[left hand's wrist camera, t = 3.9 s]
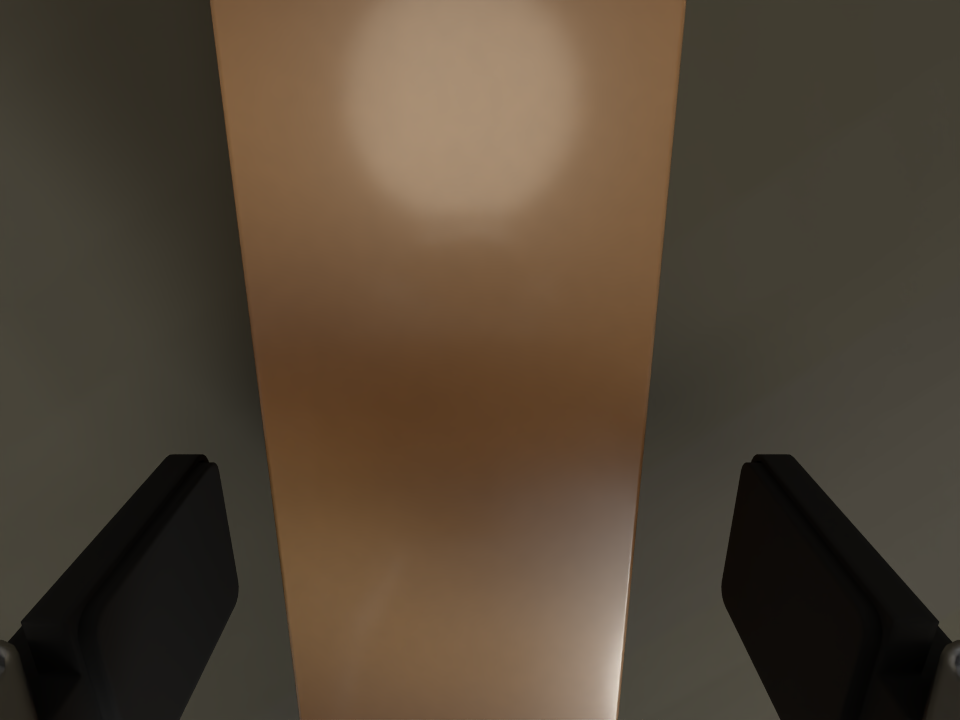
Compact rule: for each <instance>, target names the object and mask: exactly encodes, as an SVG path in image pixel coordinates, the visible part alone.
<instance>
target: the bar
mask: <svg viewBox="0 0 960 720" xmlns="http://www.w3.org/2000/svg"><path fill="white" fill-rule="evenodd" d="M210 7H211V15H212V23H213V31H214V39H215V47H216V55H217V63H218V71H219V79H220V87H221V95H222V103H223V111H224V119H225V127H226V135H227V143H228V151H229V159H230V167H231V175H232V183H233V191H234V199H235V207H236V215H237V223H238V231H239V239H240V247H241V255H242V263H243V271H244V279H245V287H246V294H247V302H248V310H249V318H250V326H251V334H252V342H253V350H254V358H255V366H256V374H257V382H258V390H259V398H260V406H261V414H262V422H263V430H264V438H265V446H266V454H267V462H268V470H269V478H270V486H271V494H272V502H273V510H274V518H275V526H276V534H277V542H278V550H279V558H280V566H281V574H282V582H283V590H284V598H285V606H286V614H287V622H288V630H289V638H290V646H291V654H292V662H293V670H294V678H295V686H296V694H297V702H298V710H299V718H300V720H618V714H619V704H620V693H621V683H622V672H623V662H624V651H625V641H626V630H627V619H628V609H629V598H630V588H631V577H632V567H633V556H634V546H635V535H636V525H637V514H638V504H639V493H640V483H641V472H642V462H643V451H644V441H645V430H646V420H647V409H648V399H649V388H650V378H651V367H652V357H653V346H654V336H655V325H656V315H657V304H658V294H659V283H660V273H661V262H662V252H663V241H664V231H665V220H666V210H667V199H668V189H669V178H670V168H671V157H672V147H673V136H674V126H675V115H676V105H677V94H678V84H679V73H680V63H681V52H682V41H683V31H684V20H685V10H686V0H210Z"/></svg>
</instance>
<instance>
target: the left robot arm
mask: <svg viewBox="0 0 960 720" xmlns="http://www.w3.org/2000/svg"><path fill="white" fill-rule="evenodd" d="M238 588H239V586H238V578H237V572H236V567H235V561H234V555H233V549H232V543H231V538H230V532H229V526H228V520H227V515H226V509H225V503H224V497H223V491H222V486H221V480H220V474H219V469H218V466H217V465H216V464H215V463H209V461H208V459H207V457H206V456H205V455H203V454H173V455H169V456H168V457H166V458H165V459H164V461H163V462H162V463H161V464H160V465H159V466H158V467H157V468H156V470H155V471H154V472H153V473H152V474H151V475H150V476H149V477H148V479H147V480H146V481H145V482H144V483H143V484H142V485H141V487H140V488H139V489H138V490H137V491H136V492H135V493H134V494H133V496H132V497H131V498H130V499H129V500H128V501H127V502H126V503H125V505H124V506H123V507H122V508H121V509H120V510H119V511H118V513H117V514H116V515H115V516H114V517H113V518H112V519H111V520H110V522H109V523H108V524H107V525H106V526H105V527H104V528H103V529H102V531H101V532H100V533H99V534H98V535H97V536H96V537H95V538H94V540H93V541H92V542H91V543H90V544H89V545H88V546H87V548H86V549H85V550H84V551H83V552H82V553H81V554H80V555H79V557H78V558H77V559H76V560H75V561H74V562H73V563H72V564H71V566H70V567H69V568H68V569H67V570H66V571H65V572H64V574H63V575H62V576H61V577H60V578H59V579H58V580H57V581H56V583H55V584H54V585H53V586H52V587H51V588H50V589H49V590H48V592H47V593H46V594H45V595H44V596H43V597H42V598H41V599H40V601H39V602H38V603H37V604H36V605H35V606H34V607H33V609H32V610H31V611H30V612H29V613H28V614H27V615H26V616H25V618H24V619H23V620H22V621H21V624H22V626H21V628H20V629H19V630H18V631H17V632H16V633H15V634H14V636H13V637H12V638H11V639H10V640H9V641H8V642H6V641H4V640H0V720H180V718H181V716H182V713H183V711H184V709H185V707H186V705H187V703H188V701H189V699H190V697H191V695H192V693H193V691H194V689H195V687H196V685H197V683H198V681H199V679H200V677H201V675H202V672H203V670H204V668H205V666H206V664H207V662H208V660H209V658H210V656H211V654H212V652H213V650H214V648H215V646H216V644H217V642H218V640H219V638H220V636H221V633H222V631H223V629H224V627H225V625H226V623H227V621H228V619H229V617H230V615H231V613H232V611H233V609H234V607H235V604H236V602H237V598H238ZM721 588H722V598H723V602H724V604H725V607H726V609H727V611H728V613H729V615H730V617H731V619H732V621H733V623H734V625H735V627H736V629H737V631H738V633H739V636H740V638H741V640H742V642H743V644H744V646H745V648H746V650H747V652H748V654H749V656H750V658H751V660H752V662H753V664H754V666H755V668H756V670H757V672H758V675H759V677H760V679H761V681H762V683H763V685H764V687H765V689H766V691H767V693H768V695H769V697H770V699H771V701H772V703H773V705H774V707H775V709H776V711H777V713H778V716H779V718H780V720H960V640H956V641H954V642H952V641H951V640H950V639H949V638H948V637H947V636H946V634H945V633H944V632H943V631H942V630H941V629H940V628H939V626H938V624H939V621H938V620H937V619H936V618H935V616H934V615H933V614H932V613H931V612H930V611H929V610H928V609H927V607H926V606H925V605H924V604H923V603H922V602H921V601H920V599H919V598H918V597H917V596H916V595H915V594H914V593H913V592H912V590H911V589H910V588H909V587H908V586H907V585H906V584H905V583H904V581H903V580H902V579H901V578H900V577H899V576H898V575H897V574H896V572H895V571H894V570H893V569H892V568H891V567H890V566H889V564H888V563H887V562H886V561H885V560H884V559H883V558H882V557H881V555H880V554H879V553H878V552H877V551H876V550H875V549H874V548H873V546H872V545H871V544H870V543H869V542H868V541H867V540H866V538H865V537H864V536H863V535H862V534H861V533H860V532H859V531H858V529H857V528H856V527H855V526H854V525H853V524H852V523H851V522H850V520H849V519H848V518H847V517H846V516H845V515H844V514H843V513H842V511H841V510H840V509H839V508H838V507H837V506H836V505H835V503H834V502H833V501H832V500H831V499H830V498H829V497H828V496H827V494H826V493H825V492H824V491H823V490H822V489H821V488H820V487H819V485H818V484H817V483H816V482H815V481H814V480H813V479H812V477H811V476H810V475H809V474H808V473H807V472H806V471H805V470H804V468H803V467H802V466H801V465H800V464H799V463H798V462H797V461H796V459H795V458H794V457H792V456H791V455H787V454H757V455H755V456H754V457H753V459H752V461H751V463H744V465H743V466H742V469H741V474H740V480H739V486H738V491H737V497H736V503H735V509H734V515H733V520H732V526H731V532H730V538H729V543H728V549H727V555H726V561H725V566H724V572H723V578H722V586H721Z"/></svg>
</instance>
